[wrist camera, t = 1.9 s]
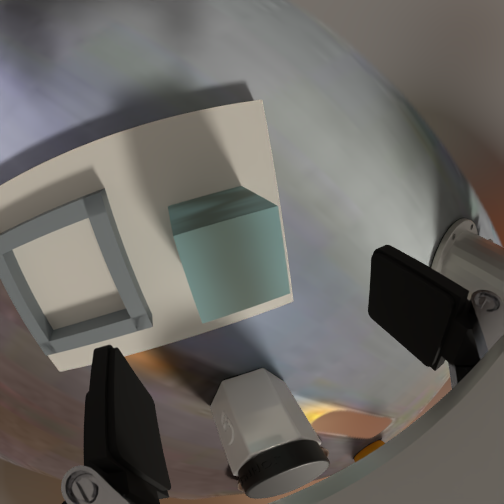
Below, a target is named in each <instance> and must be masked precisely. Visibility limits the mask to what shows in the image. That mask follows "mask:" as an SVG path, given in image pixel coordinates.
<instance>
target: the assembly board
mask: <svg viewBox="0 0 504 504" xmlns="http://www.w3.org/2000/svg"><path fill="white" fill-rule="evenodd" d="M239 186H243V187H245V188H246V189H248V190H250V191H252V192H254V193H256V194H257V195H259V196H261V197H263V198H265V199H266V200H268V201H270V202H272V203H274V204H275V205H277V206H278V210H279V216H280V223H281V230H282V237H283V243H284V250H285V258H286V265H287V272H288V280H289V287H290V294H287V295H284V296H282V297H279V298H276V299H273V300H271V301H268V302H265V303H262V304H259V305H257V306H254V307H251V308H248V309H245V310H242V311H239V312H236V313H233V314H230V315H227V316H224V317H221V318H218V319H215V320H212V321H209V322H206V323H203V324H202V321H201V318H200V315H199V313H198V310H197V307H196V304H195V301H194V299H193V296H192V293H191V290H190V287H189V284H188V281H187V278H186V275H185V272H184V269H183V266H182V263H181V260H180V257H179V254H178V250H177V247H176V244H175V241H174V237H173V233H172V228H171V222H170V216H169V211H168V206H170V205H174V204H177V203H180V202H184V201H187V200H191V199H194V198H198V197H201V196H205V195H208V194H212V193H216V192H220V191H223V190H227V189H231V188H235V187H239ZM0 278H1V281H2V283H3V285H4V287H5V289H6V291H7V292H8V294H9V296H10V298H11V300H12V302H13V304H14V305H15V307H16V309H17V311H18V313H19V314H20V316H21V318H22V319H23V321H24V323H25V324H26V326H27V328H28V329H29V331H30V332H31V334H32V335H33V337H34V338H35V340H36V341H37V343H38V344H39V346H40V347H41V349H42V350H43V352H44V353H45V355H46V356H47V355H48V357H49V358H50V359H51V361H52V362H53V363H54V365H55V366H56V367H57V369H58V370H59V371H60V372H61V371H65V370H70V369H74V368H79V367H83V366H87V365H92V359H93V352H94V349H95V348H99V347H102V346H106V345H112V346H113V348H115V347H118V348H119V350H120V351H121V353H122V354H123V356H127V355H131V354H134V353H138V352H142V351H145V350H149V349H152V348H156V347H159V346H163V345H166V344H169V343H173V342H176V341H179V340H183V339H186V338H189V337H192V336H196V335H199V334H202V333H205V332H208V331H211V330H214V329H217V328H220V327H223V326H226V325H229V324H232V323H235V322H238V321H241V320H244V319H247V318H249V317H252V316H255V315H258V314H261V313H264V312H266V311H269V310H272V309H274V308H277V307H280V306H283V305H285V304H288V303H291V302H293V295H292V287H291V279H290V271H289V263H288V256H287V249H286V241H285V234H284V227H283V220H282V214H281V207H280V201H279V194H278V188H277V181H276V175H275V169H274V163H273V157H272V151H271V145H270V140H269V134H268V128H267V123H266V117H265V112H264V107H263V101H262V100H256V101H249V102H242V103H236V104H230V105H224V106H218V107H213V108H208V109H203V110H199V111H194V112H189V113H185V114H181V115H177V116H173V117H169V118H165V119H161V120H158V121H154V122H150V123H147V124H144V125H140V126H137V127H134V128H131V129H127V130H124V131H121V132H118V133H115V134H112V135H110V136H107V137H104V138H101V139H98V140H96V141H93V142H91V143H88V144H85V145H83V146H80V147H78V148H75V149H73V150H71V151H68V152H66V153H64V154H61V155H59V156H57V157H55V158H52V159H50V160H48V161H46V162H44V163H42V164H40V165H38V166H36V167H34V168H32V169H30V170H28V171H26V172H24V173H22V174H20V175H18V176H16V177H15V178H13V179H11V180H9V181H7V182H6V183H4V184H2V185H0Z"/></svg>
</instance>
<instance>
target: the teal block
mask: <svg viewBox="0 0 504 504" xmlns="http://www.w3.org/2000/svg"><path fill="white" fill-rule="evenodd" d="M168 211H169V216H170V222H171V228H172V233H173V237H174V241H175V244H176V247H177V250H178V254H179V257H180V260H181V263H182V266H183V269H184V272H185V275H186V278H187V281H188V284H189V287H190V290H191V293H192V296H193V299H194V301H195V304H196V307H197V310H198V313H199V315H200V318H201V321H202V324H203V323H206V322H209V321H212V320H215V319H218V318H221V317H224V316H227V315H230V314H233V313H236V312H239V311H242V310H245V309H248V308H251V307H254V306H257V305H259V304H262V303H265V302H268V301H271V300H273V299H276V298H279V297H282V296H284V295H287V294H290V287H289V280H288V272H287V265H286V258H285V250H284V243H283V237H282V230H281V223H280V216H279V210H278V206H277V205H275V204H274V203H272V202H270V201H268V200H266V199H265V198H263V197H261V196H259V195H257V194H256V193H254V192H252V191H250V190H248V189H246V188H245V187H243V186H239V187H235V188H231V189H227V190H223V191H220V192H216V193H212V194H208V195H205V196H201V197H198V198H194V199H191V200H187V201H184V202H180V203H177V204H174V205H170V206H168Z"/></svg>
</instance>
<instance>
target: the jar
mask: <svg viewBox="0 0 504 504" xmlns="http://www.w3.org/2000/svg"><path fill="white" fill-rule="evenodd" d="M210 408H211V411H212V415H213V418H214V421H215V424H216V427H217V430H218V434H219V437H220V440H221V443H222V445H223V448H224V451H225V454H226V457H227V460H228V463H229V465H230V468H231V471H232V474H233V475H234V476H239V479H240V480H239V481H240V484H241V486H242V489H244V492H245V494H246V495H247V496H248V497H250V498H268V497H273V496H277V495H280V494H284V493H287V492H289V491H292V490H295V489H297V488H299V487H301V486H303V485H305V484H307V483H309V482H311V481H312V480H314V479H316V478H317V477H318V476H320V475H321V474H322V473H323V472H324V471H325V470H326V469H327V468H328V466H329V464H330V462H329V460H328V458H327V456H326V455H325V453H324V452H323V450H322V448H321V447H320V445H321V440H320V439H319V437H318V436H317V434H316V432H315V431H314V429H313V428H312V426H311V424H310V423H309V421H308V419H307V418H306V416H305V415H304V413H303V411H302V410H301V408H300V406H299V405H298V403H297V401H296V400H295V398H294V396H293V395H292V393H291V391H290V390H289V388H288V386H287V385H286V383H285V382H284V381H282V380H281V379H279V378H278V377H276V376H275V375H273V374H272V373H270V372H269V371H267V370H266V369H264V368H261V369H258V370H255V371H252V372H249V373H246V374H243V375H239V376H236V377H233V378H230V379H226V380H223V381H222V382H221V384H220V386H219V389H218V391H217V393H216V395H215V397H214V400H213V402H212V404H211V406H210Z"/></svg>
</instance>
